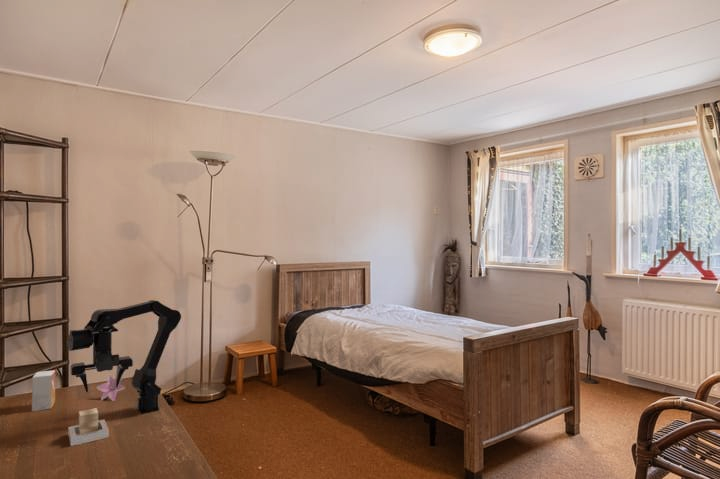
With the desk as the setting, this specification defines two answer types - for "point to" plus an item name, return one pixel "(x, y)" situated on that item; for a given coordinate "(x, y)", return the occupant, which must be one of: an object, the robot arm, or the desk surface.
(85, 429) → the peg
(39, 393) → the small box
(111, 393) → the lily
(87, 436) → the rectangular frame
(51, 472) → the desk surface
